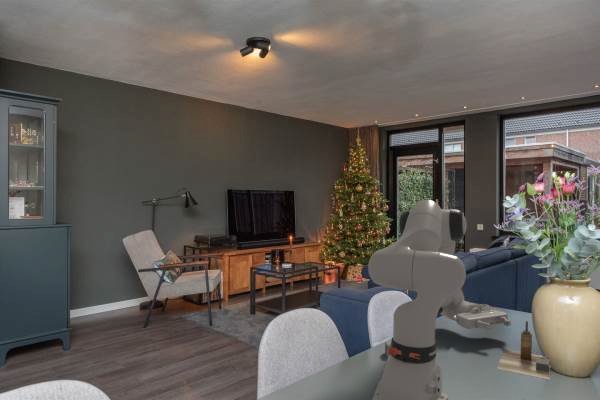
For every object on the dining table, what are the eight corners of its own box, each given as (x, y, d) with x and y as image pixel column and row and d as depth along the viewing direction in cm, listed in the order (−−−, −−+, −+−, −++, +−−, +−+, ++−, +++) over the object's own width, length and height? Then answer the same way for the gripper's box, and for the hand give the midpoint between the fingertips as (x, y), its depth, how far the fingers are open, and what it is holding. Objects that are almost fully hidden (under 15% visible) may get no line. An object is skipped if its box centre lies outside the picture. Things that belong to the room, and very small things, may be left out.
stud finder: (549, 372, 129) (549, 364, 128) (535, 369, 130) (536, 361, 130) (549, 365, 134) (549, 357, 134) (536, 363, 135) (536, 355, 135)
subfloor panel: (549, 383, 123) (549, 379, 123) (496, 371, 131) (497, 368, 131) (550, 360, 140) (550, 357, 140) (504, 351, 148) (504, 348, 148)
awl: (531, 360, 138) (532, 323, 137) (520, 358, 139) (521, 321, 139) (531, 357, 140) (532, 321, 140) (520, 354, 142) (521, 319, 142)
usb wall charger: (384, 352, 145) (385, 341, 145) (404, 353, 145) (405, 341, 145) (387, 357, 141) (387, 345, 141) (408, 357, 141) (408, 345, 141)
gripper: (449, 309, 158) (478, 319, 145) (489, 303, 166) (520, 313, 154) (448, 325, 158) (477, 337, 146) (489, 319, 166) (519, 330, 154)
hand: (499, 325), depth 150 cm, fingers open, 8 cm apart
